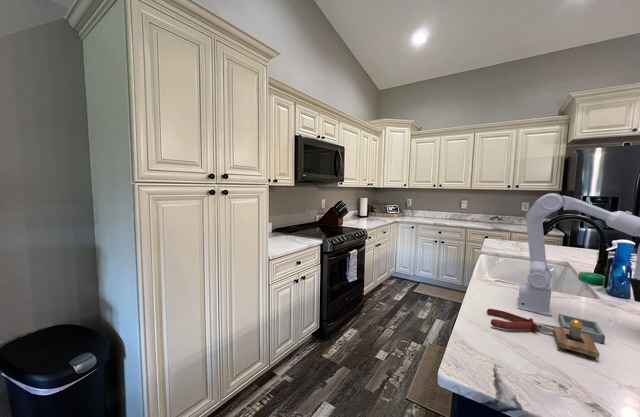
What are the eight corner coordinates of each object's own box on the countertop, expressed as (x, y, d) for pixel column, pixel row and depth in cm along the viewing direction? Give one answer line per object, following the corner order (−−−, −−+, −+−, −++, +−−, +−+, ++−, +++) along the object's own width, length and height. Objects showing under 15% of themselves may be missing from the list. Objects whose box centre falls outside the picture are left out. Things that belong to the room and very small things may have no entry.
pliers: (572, 344, 75) (573, 336, 75) (490, 327, 84) (491, 319, 84) (557, 327, 85) (558, 319, 85) (486, 313, 94) (486, 306, 94)
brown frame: (557, 350, 73) (558, 342, 73) (552, 333, 82) (553, 325, 81) (598, 362, 68) (599, 353, 68) (588, 342, 77) (589, 334, 77)
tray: (562, 333, 81) (563, 326, 81) (558, 320, 89) (559, 313, 89) (604, 344, 76) (605, 336, 76) (595, 329, 84) (596, 322, 84)
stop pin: (568, 346, 75) (571, 320, 74) (566, 342, 77) (569, 316, 76) (580, 350, 73) (583, 323, 72) (578, 345, 75) (581, 319, 74)
